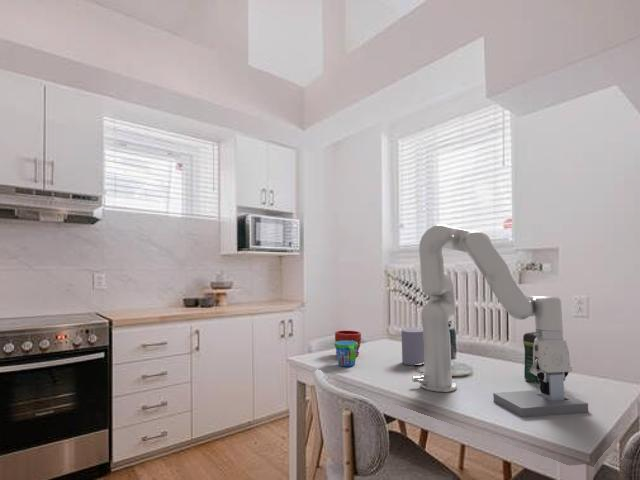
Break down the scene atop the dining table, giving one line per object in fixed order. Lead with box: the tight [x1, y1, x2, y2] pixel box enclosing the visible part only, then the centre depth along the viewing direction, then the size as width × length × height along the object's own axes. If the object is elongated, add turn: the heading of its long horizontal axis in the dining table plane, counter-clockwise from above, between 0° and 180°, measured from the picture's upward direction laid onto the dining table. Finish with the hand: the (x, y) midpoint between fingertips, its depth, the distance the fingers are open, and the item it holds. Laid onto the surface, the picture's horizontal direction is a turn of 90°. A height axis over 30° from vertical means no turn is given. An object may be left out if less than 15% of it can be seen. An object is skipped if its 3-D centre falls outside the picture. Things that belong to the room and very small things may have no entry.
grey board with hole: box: [492, 389, 589, 418], centre depth 121 cm, size 22×14×2 cm, turn 99°
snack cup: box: [334, 340, 358, 367], centre depth 175 cm, size 16×10×10 cm
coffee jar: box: [522, 331, 540, 384], centre depth 148 cm, size 10×8×19 cm
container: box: [401, 328, 424, 367], centre depth 177 cm, size 10×10×15 cm
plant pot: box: [334, 330, 362, 357], centre depth 193 cm, size 13×13×12 cm
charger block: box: [541, 372, 565, 401], centre depth 122 cm, size 5×5×9 cm
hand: (552, 392), depth 122 cm, fingers closed on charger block, 4 cm apart
